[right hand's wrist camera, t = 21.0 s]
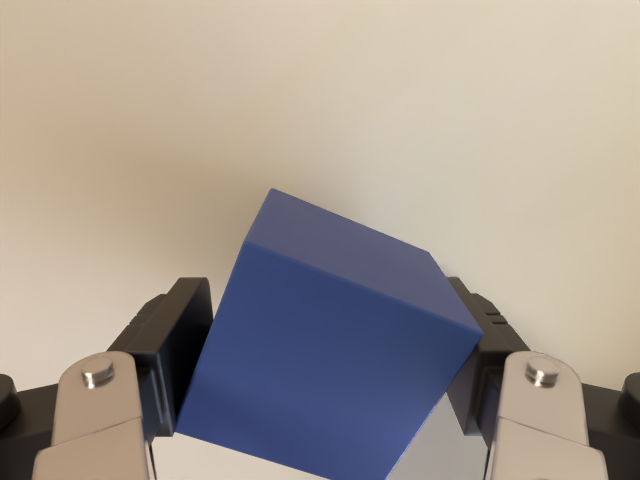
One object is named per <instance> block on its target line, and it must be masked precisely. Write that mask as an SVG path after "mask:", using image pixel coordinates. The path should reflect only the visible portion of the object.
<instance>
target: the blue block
mask: <svg viewBox="0 0 640 480" xmlns="http://www.w3.org/2000/svg"><path fill="white" fill-rule="evenodd" d="M483 335H484V333H483V331H482V330H481V328H480V327H479V325H478V324H477V322H476V321H475V319H474V318H473V316H472V315H471V313H470V312H469V311H468V309H467V308H466V306H465V305H464V303H463V302H462V300H461V299H460V297H459V296H458V294H457V293H456V291H455V290H454V288H453V287H452V285H451V284H450V283H449V281H448V280H447V278H446V277H445V275H444V274H443V272H442V271H441V269H440V268H439V266H438V265H437V263H436V262H435V260H434V259H433V257H432V256H431V255H430V253H429V252H427V251H425V250H422V249H420V248H417V247H415V246H412V245H410V244H408V243H405V242H403V241H400V240H398V239H395V238H393V237H390V236H388V235H386V234H383V233H381V232H378V231H376V230H373V229H371V228H369V227H366V226H364V225H361V224H359V223H356V222H354V221H351V220H349V219H347V218H344V217H342V216H339V215H337V214H334V213H332V212H330V211H327V210H325V209H322V208H320V207H317V206H315V205H312V204H310V203H308V202H305V201H303V200H300V199H298V198H295V197H293V196H291V195H288V194H286V193H283V192H281V191H278V190H276V189H271V190H270V191H269V193H268V195H267V197H266V199H265V201H264V203H263V205H262V207H261V209H260V211H259V213H258V215H257V217H256V218H255V220H254V222H253V224H252V226H251V228H250V230H249V232H248V234H247V236H246V238H245V240H244V242H243V244H242V247H241V250H240V252H239V255H238V257H237V260H236V263H235V265H234V268H233V271H232V273H231V276H230V278H229V281H228V284H227V286H226V289H225V292H224V294H223V297H222V299H221V302H220V305H219V307H218V310H217V313H216V315H215V318H214V320H213V323H212V326H211V328H210V331H209V334H208V336H207V339H206V341H205V344H204V347H203V349H202V352H201V355H200V357H199V360H198V362H197V365H196V368H195V370H194V373H193V376H192V378H191V381H190V383H189V386H188V389H187V391H186V394H185V397H184V399H183V402H182V404H181V407H180V410H179V412H178V415H177V418H176V430H175V432H177V433H180V434H183V435H187V436H190V437H193V438H197V439H200V440H203V441H206V442H210V443H213V444H216V445H219V446H223V447H226V448H229V449H232V450H236V451H239V452H242V453H245V454H249V455H252V456H255V457H258V458H262V459H265V460H268V461H272V462H275V463H278V464H281V465H285V466H288V467H291V468H294V469H298V470H301V471H304V472H307V473H311V474H314V475H317V476H320V477H324V478H327V479H330V480H386V479H387V477H388V476H389V475H390V473H391V472H392V470H393V469H394V467H395V466H396V464H397V463H398V461H399V460H400V458H401V457H402V455H403V454H404V452H405V451H406V449H407V448H408V446H409V445H410V444H411V442H412V441H413V439H414V438H415V436H416V435H417V433H418V432H419V430H420V429H421V427H422V426H423V424H424V423H425V421H426V420H427V418H428V417H429V415H430V414H431V412H432V411H433V410H434V408H435V407H436V405H437V404H438V402H439V401H440V399H441V398H442V396H443V395H444V393H445V392H446V390H447V389H448V387H449V386H450V384H451V383H452V381H453V380H454V379H455V377H456V376H457V374H458V373H459V371H460V370H461V368H462V367H463V365H464V364H465V362H466V361H467V359H468V358H469V356H470V355H471V353H472V352H473V350H474V347H475V345H476V344H478V343H479V342H480V340H481V339H482V337H483Z"/></svg>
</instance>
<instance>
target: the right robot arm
mask: <svg viewBox="0 0 640 480" xmlns="http://www.w3.org/2000/svg"><path fill="white" fill-rule="evenodd" d="M446 278H447V280H448V281H449V283H450V284H451V285H452V287H453V288H454V290H455V291H456V293H457V294H458V296H459V297H460V299H461V300H462V302H463V303H464V305H465V306H466V308H467V309H468V311H469V312H470V313H471V315H472V316H473V318H474V319H475V321H476V322H477V324H478V325H479V327H480V328H481V330H482V331H483V333H484V335H483V337H482V339H481V340H480V342H479V343H478V344H476V345H475V347H474V350H473V352H472V353H471V355H470V356H469V358H468V359H467V361H466V362H465V364H464V365H463V367H462V368H461V370H460V371H459V373H458V374H457V376H456V377H455V379H454V380H453V381H452V383H451V384H450V386H449V387H448V389H447V390H446V393H447V395H448V397H449V400H450V402H451V405H452V407H453V409H454V412H455V414H456V416H457V419H458V421H459V424H460V426H461V428H462V431H463V433H464V435H465V436H483V439H484V441H485V443H486V445H487V447H488V449H487V454H486V460H485V466H484V472H483V478H482V480H640V372H639V373H633V374H630V375H629V376H627V378H626V379H625V382H624V385H623V388H622V391H616V390H612V389H607V388H602V387H597V386H592V385H587V384H583V383H581V380H580V378H579V376H578V374H577V373H576V372H575V371H574V370H573V369H572V368H571V367H570V366H568V365H567V364H565V363H564V362H562V361H560V360H558V359H556V358H554V357H552V356H549V355H546V354H543V353H538V352H532V351H531V350H530V349H529V348H528V347H527V345H526V344H525V343H524V342H523V340H522V339H521V338H520V337H519V336H518V334H517V333H516V332H515V331H514V329H513V328H512V327H511V326H510V325H508V322H507V321H506V320H505V318H504V317H503V316H501V315H500V312H499V311H498V310H497V309H496V307H495V306H494V305H493V304H492V303H491V302H490V301H488V300H487V299H485V298H483V297H482V296H480V295H479V294H470V292H469V291H468V290H467V288H466V287H465V286H464V284H463V283H462V282H461V280H460V279H459V278H458V277H446ZM212 323H213V312H212V303H211V294H210V286H209V281H208V279H207V278H206V277H181V278H179V279H178V280H177V282H176V283H175V284H174V286H173V287H172V288H171V290H170V291H169V292H168V293H167V294H160V295H158V296H157V297H155V298H153V299H152V300H150V301H149V302H147V303H146V304H145V305H144V306H143V307H142V308H141V310H140V311H139V312H138V313H137V316H135V317H134V318H133V319H132V321H131V322H130V325H127V327H126V328H125V329H124V330H123V331H122V333H121V334H120V335H119V336H118V338H117V339H116V340H115V341H114V342H113V344H112V345H111V346H110V347H109V348H108V350H107V351H106V352H102V353H97V354H94V355H91V356H88V357H86V358H84V359H82V360H80V361H78V362H76V363H75V364H73V365H72V366H70V367H69V368H68V369H67V370H66V371H65V372H64V373H63V374H62V376H61V378H60V380H59V383H57V384H53V385H49V386H44V387H39V388H35V389H30V390H25V391H20V392H17V391H16V388H15V385H14V382H13V380H12V378H11V377H9V376H7V375H5V374H0V480H158V478H157V472H156V466H155V460H154V454H153V449H152V441H153V439H154V437H173V434H174V432H175V430H176V418H177V415H178V412H179V410H180V407H181V404H182V402H183V399H184V397H185V394H186V391H187V389H188V386H189V383H190V381H191V378H192V376H193V373H194V370H195V368H196V365H197V362H198V360H199V357H200V355H201V352H202V349H203V347H204V344H205V341H206V339H207V336H208V334H209V331H210V328H211V326H212Z"/></svg>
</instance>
